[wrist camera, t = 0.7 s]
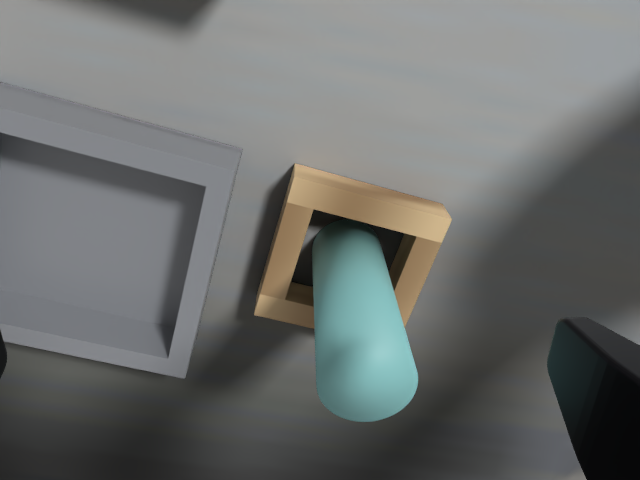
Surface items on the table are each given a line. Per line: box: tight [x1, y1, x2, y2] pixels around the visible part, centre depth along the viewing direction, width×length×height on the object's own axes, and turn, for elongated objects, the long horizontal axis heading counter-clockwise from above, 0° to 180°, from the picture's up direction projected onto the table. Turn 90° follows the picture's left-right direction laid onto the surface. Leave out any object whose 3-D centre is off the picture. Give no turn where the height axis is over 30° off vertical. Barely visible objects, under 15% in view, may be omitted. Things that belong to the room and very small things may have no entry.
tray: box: [0, 82, 243, 379], centre depth 20 cm, size 9×9×2 cm
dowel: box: [312, 219, 418, 422], centre depth 19 cm, size 3×3×8 cm
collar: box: [254, 164, 452, 329], centre depth 21 cm, size 6×6×2 cm
